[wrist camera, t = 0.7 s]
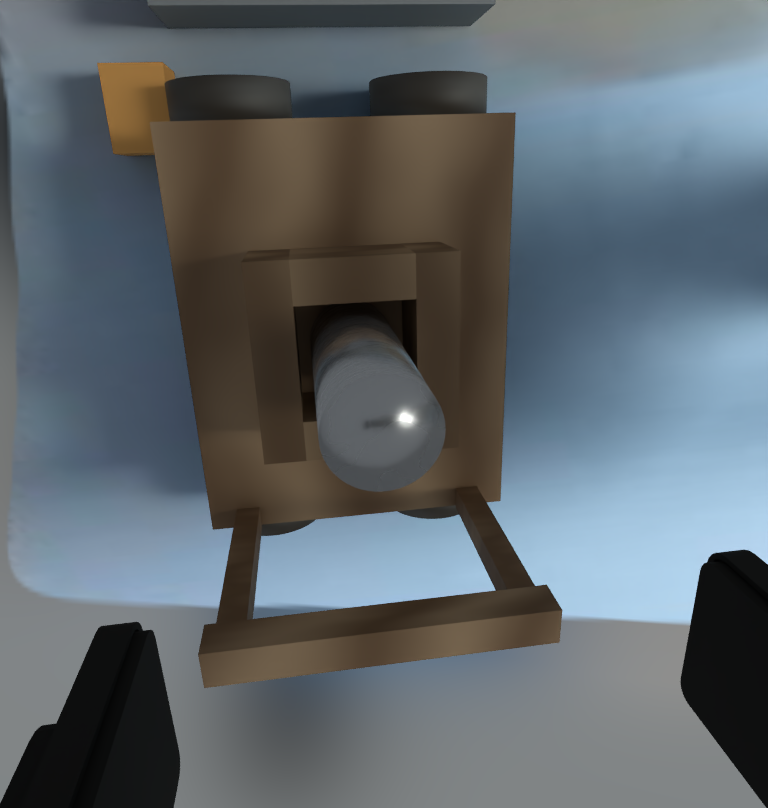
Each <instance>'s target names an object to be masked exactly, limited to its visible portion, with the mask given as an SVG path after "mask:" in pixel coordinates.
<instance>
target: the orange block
mask: <svg viewBox="0 0 768 808" xmlns="http://www.w3.org/2000/svg"><path fill="white" fill-rule="evenodd" d="M97 64H98V70H99V76H100V81H101V87H102V92H103V98H104V104H105V109H106V115H107V121H108V126H109V132H110V137H111V143H112V149H113V154H118V155H126V156H142V155H155V154H154V147H153V141H152V135H151V128H150V122H164V121H170V118H169V111H168V104H167V97H166V91H165V82H167V81H169V80H172V79H175V75H174V72H173V71H172V70H171V69H170V68H169V67H167V66H166V65H165V64H164V63H163V62H140V63H97Z"/></svg>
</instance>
